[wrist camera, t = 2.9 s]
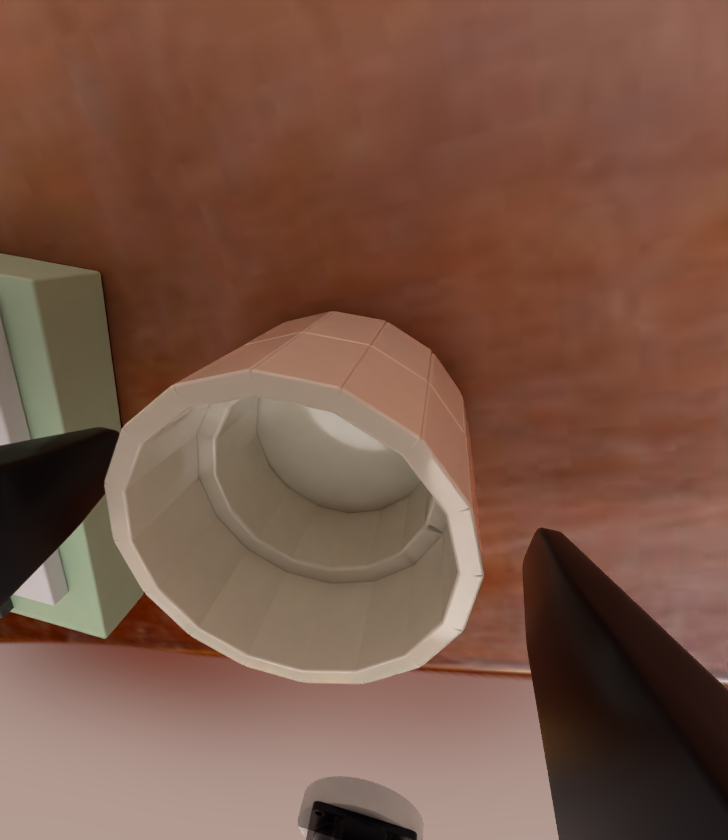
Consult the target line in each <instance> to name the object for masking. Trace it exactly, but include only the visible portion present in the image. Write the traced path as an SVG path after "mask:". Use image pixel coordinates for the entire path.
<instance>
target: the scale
mask: <svg viewBox="0 0 728 840" xmlns="http://www.w3.org/2000/svg"><path fill="white" fill-rule="evenodd" d="M94 427H104V428H108V429H113V430H116V431H118V432H119V433H120V432H121V423H120V416H119V408H118V401H117V393H116V386H115V378H114V371H113V364H112V356H111V349H110V341H109V334H108V326H107V319H106V311H105V304H104V296H103V289H102V282H101V274H100V272H98V271H94V270H88V269H83V268H78V267H72V266H67V265H61V264H56V263H51V262H45V261H40V260H35V259H29V258H24V257H18V256H13V255H8V254H2V253H0V445H5V444H10V443H15V442H21V441H26V440H31V439H37V438H42V437H47V436H52V435H58V434H63V433H68V432H73V431H79V430H84V429H89V428H94ZM142 595H143V590H142V589H141V587H140V585H139V584H138V582H137V580H136V578H135V577H134V575H133V573H132V572H131V570H130V568H129V567H128V565H127V563H126V561H125V560H124V558H123V556H122V555H121V553H120V551H119V550H118V548H117V546H116V544H115V543H114V539H113V536H112V530H111V524H110V518H109V512H108V506H107V500H106V494H105V495H104V496H103V497H102V498H101V500H100V501H99V502H98V503H97V505H96V506H95V507H94V508H93V509H92V511H91V512H90V513H89V514H88V516H87V517H86V518H85V519H84V521H83V522H82V523H81V524H80V525H79V527H78V528H77V529H76V530H75V531H74V532H73V533H72V534H71V535H70V536H69V537H68V538H67V539H66V540H65V542H64V543H63V544H62V545H61V546H60V547H59V548H58V549H57V550H56V551H55V552H54V553H53V554H52V555H51V556H50V557H49V558H48V559H47V560H46V561H45V562H44V563H43V564H42V565H41V566H40V567H39V568H38V569H37V570H36V571H35V572H34V573H33V574H32V575H31V577H30V578H29V579H28V580H27V581H26V582H25V583H24V584H23V585H22V586H21V587H20V588H19V589H18V590H17V591H16V592H15V593H14V594H13V595H12V596H11V597H10V598H9V599H8V600H7V601H6V602H5V603H4V604H3V605H2V606H1V607H0V618H3V617H4V616H5V615H6V614H7V613H9V612H14V613H17V614H21V615H24V616H28V617H31V618H35V619H38V620H42V621H45V622H48V623H52V624H55V625H59V626H62V627H66V628H69V629H73V630H76V631H80V632H83V633H87V634H90V635H94V636H97V637H101V638H104V639H106V638H107V637H108V636H109V635H110V634H111V632H112V631H113V630H114V629H115V628H116V626H117V625H118V624H119V623H120V622H121V620H122V619H123V618H124V617H125V616H126V614H127V613H128V612H129V611H130V610H131V609H132V607H133V606H134V605H135V604H136V603H137V601H138V600H139V599H140V598H141V597H142Z"/></svg>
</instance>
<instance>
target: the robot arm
mask: <svg viewBox="0 0 728 840" xmlns="http://www.w3.org/2000/svg"><path fill="white" fill-rule="evenodd" d="M119 435H120V433H119V432H118V431H116V430H113V429H108V428H104V427H94V428H89V429H84V430H79V431H73V432H68V433H63V434H58V435H52V436H47V437H42V438H37V439H31V440H26V441H21V442H15V443H10V444H5V445H0V607H1V606H2V605H3V604H4V603H5V602H6V601H7V600H8V599H9V598H10V597H11V596H12V595H13V594H14V593H15V592H16V591H17V590H18V589H19V588H20V587H21V586H22V585H23V584H24V583H25V582H26V581H27V580H28V579H29V578H30V577H31V575H32V574H33V573H34V572H35V571H36V570H37V569H38V568H39V567H40V566H41V565H42V564H43V563H44V562H45V561H46V560H47V559H48V558H49V557H50V556H51V555H52V554H53V553H54V552H55V551H56V550H57V549H58V548H59V547H60V546H61V545H62V544H63V543H64V542H65V540H66V539H67V538H68V537H69V536H70V535H71V534H72V533H73V532H74V531H75V530H76V529H77V528H78V527H79V525H80V524H81V523H82V522H83V521H84V519H85V518H86V517H87V516H88V514H89V513H90V512H91V511H92V509H93V508H94V507H95V506H96V505H97V503H98V502H99V501H100V500H101V498H102V497H103V496H104V495H105V488H104V484H105V482H104V480H105V477H106V474H107V471H108V468H109V465H110V462H111V459H112V456H113V453H114V450H115V447H116V444H117V441H118V438H119ZM523 588H524V607H525V627H526V641H527V650H528V657H529V663H530V669H531V675H532V681H533V687H534V693H535V698H536V704H537V711H538V717H539V723H540V728H541V734H542V740H543V746H544V752H545V758H546V764H547V770H548V776H549V782H550V788H551V794H552V800H553V806H554V812H555V818H556V824H557V830H558V835H559V840H728V690H727V689H726V688H725V687H724V686H723V685H722V684H721V683H720V682H719V681H718V680H717V679H716V678H715V677H714V676H713V675H712V674H711V673H709V672H708V671H707V670H706V669H705V668H704V667H703V666H702V665H701V664H700V663H699V662H698V661H697V660H696V659H695V658H694V657H693V656H691V655H690V654H689V653H688V652H687V651H686V650H685V649H684V648H683V647H682V646H681V645H680V644H679V643H678V642H677V641H676V640H675V639H674V638H672V637H671V636H670V635H669V634H668V633H667V632H666V631H665V630H664V629H663V628H662V627H661V626H660V625H659V624H658V623H657V622H656V621H654V620H653V619H652V618H651V617H650V616H649V615H648V614H647V613H646V612H645V611H644V610H643V609H642V608H641V607H640V606H639V605H638V604H637V603H635V602H634V601H633V600H632V599H631V598H630V597H629V596H628V595H627V594H626V593H625V592H624V591H623V590H622V589H621V588H620V587H619V586H617V585H616V584H615V583H614V582H613V581H612V580H611V579H610V578H609V577H608V576H607V575H606V574H605V573H604V572H603V571H602V570H601V569H600V568H598V567H597V566H596V565H595V564H594V563H593V562H592V561H591V560H590V559H589V558H588V557H587V556H586V555H585V554H584V553H583V552H582V551H580V550H579V549H578V548H577V547H576V546H575V545H574V544H573V543H572V542H571V541H570V540H569V539H568V538H567V537H566V536H565V535H564V534H562V533H561V532H559V531H555V530H550V529H546V528H539V529H537V531H536V532H535V534H534V536H533V539H532V541H531V543H530V546H529V548H528V551H527V553H526V555H525V558H524V561H523ZM306 840H417V833H416V832H415V831H413V830H411V829H407V828H404V827H401V826H398V825H395V824H392V823H388V822H385V821H382V820H379V819H376V818H372V817H369V816H366V815H363V814H360V813H357V812H353V811H350V810H347V809H344V808H341V807H337V806H334V805H331V804H328V803H325V802H321V801H315V802H313V806H312V810H311V815H310V821H309V826H308V832H307V837H306Z"/></svg>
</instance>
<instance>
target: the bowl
mask: <svg viewBox="0 0 728 840" xmlns="http://www.w3.org/2000/svg"><path fill="white" fill-rule="evenodd" d="M104 482H105V484H104V488H105V494H106V500H107V506H108V512H109V518H110V524H111V530H112V536H113V539H114V543H115V544H116V546H117V548H118V550H119V551H120V553H121V555H122V556H123V558H124V560H125V561H126V563H127V565H128V567H129V568H130V570H131V572H132V573H133V575H134V577H135V578H136V580H137V582H138V584H139V585H140V587H141V589H142V590H143V591H144V592H145V594H146V595H147V596H148V597H149V598H150V599H151V600H152V601H153V602H154V603H155V604H157V605H158V606H159V607H160V608H161V609H162V610H163V611H164V612H165V613H166V614H167V615H168V616H169V617H170V618H171V619H172V620H173V621H175V622H176V623H177V624H178V625H179V626H180V627H181V628H182V629H183V630H184V631H185V632H186V633H187V634H190V636H191V637H193V638H195V639H197V640H199V641H200V642H202V643H204V644H206V645H207V646H209V647H211V648H213V649H215V650H216V651H218V652H220V653H222V654H223V655H225V656H227V657H229V658H231V659H232V660H234V661H236V662H238V663H239V664H241V665H245V666H246V667H249V668H253V669H256V670H260V671H263V672H267V673H270V674H274V675H277V676H281V677H284V678H288V679H291V680H295V681H299V682H305V683H325V684H326V683H327V684H364V683H365V684H367V683H370V682H374V681H377V680H380V679H383V678H387V677H390V676H394V675H397V674H401V673H404V672H407V671H411V670H414V669H417V668H419V667H421V666H423V665H424V664H425V663H426V662H428V661H429V660H430V659H431V658H432V657H434V656H435V655H436V654H437V653H438V652H439V651H441V650H442V649H443V648H444V647H445V646H447V645H448V644H449V643H450V642H451V641H453V640H454V639H455V638H456V637H457V636H459V635H460V634H461V633H462V631H463V630H464V629H465V626H466V624H467V621H468V618H469V616H470V613H471V610H472V608H473V605H474V602H475V600H476V597H477V594H478V591H479V589H480V586H481V583H482V581H483V578H484V563H483V554H482V545H481V535H480V526H479V517H478V507H477V498H476V490H475V479H474V470H473V460H472V451H471V442H470V435H469V429H468V423H467V417H466V411H465V405H464V399H463V396H461V392H460V391H459V389H458V388H457V386H456V385H455V383H454V382H453V380H452V379H451V377H450V376H449V374H448V373H447V371H446V370H445V368H444V367H443V365H442V364H441V362H440V361H439V359H438V358H437V357H436V355H435V354H433V353H432V351H431V350H430V349H429V348H427V347H426V346H424V345H423V344H421V343H420V342H418V341H417V340H415V339H413V338H412V337H410V336H409V335H407V334H406V333H404V332H403V331H401V330H400V329H398V328H397V327H395V326H393V325H392V324H390V323H388V322H387V323H386V321H385V320H380V319H374V318H369V317H363V316H358V315H353V314H347V313H342V312H336V311H333V312H331V311H330V312H325V313H321V314H317V315H313V316H308V317H304V318H300V319H296V320H291V321H287V322H284V323H282V324H280V325H278V326H276V327H275V328H273V329H271V330H269V331H267V332H266V333H264V334H262V335H260V336H259V337H257V338H255V339H253V340H251V341H250V342H248V343H246V344H244V345H242V346H241V347H239V348H237V349H235V350H234V351H232V352H230V353H228V354H226V355H225V356H223V357H221V358H219V359H217V360H216V361H214V362H212V363H210V364H209V365H207V366H205V367H203V368H201V369H200V370H198V371H196V372H194V373H192V374H191V375H189V376H187V377H185V378H183V379H182V380H180V381H178V382H176V383H175V384H173V385H171V386H170V387H168V388H167V389H166V390H165V391H164V392H163V393H161V394H160V395H159V396H158V397H157V398H155V399H154V400H153V401H152V402H151V403H150V404H148V405H147V406H146V407H145V408H144V409H142V410H141V411H140V412H139V413H138V414H137V415H135V416H134V417H133V418H132V419H131V420H129V421H128V422H127V423H126V424H125V425H124V427H123V428H122V429H121V432H120V435H119V438H118V441H117V444H116V447H115V450H114V453H113V456H112V459H111V462H110V465H109V468H108V471H107V474H106V477H105V480H104Z"/></svg>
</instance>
